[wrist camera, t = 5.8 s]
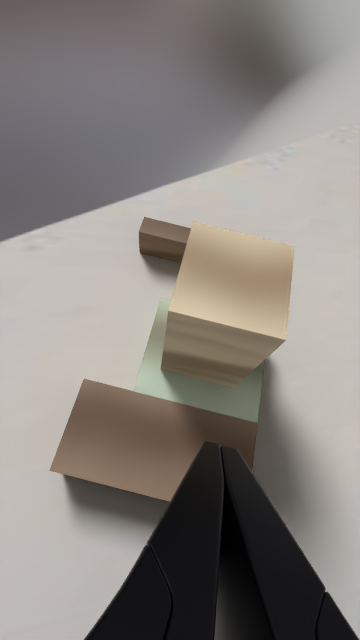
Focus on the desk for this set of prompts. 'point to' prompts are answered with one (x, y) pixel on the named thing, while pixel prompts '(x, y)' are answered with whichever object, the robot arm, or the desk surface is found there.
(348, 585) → the desk surface
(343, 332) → the desk surface
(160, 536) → the robot arm
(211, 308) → the beech block
